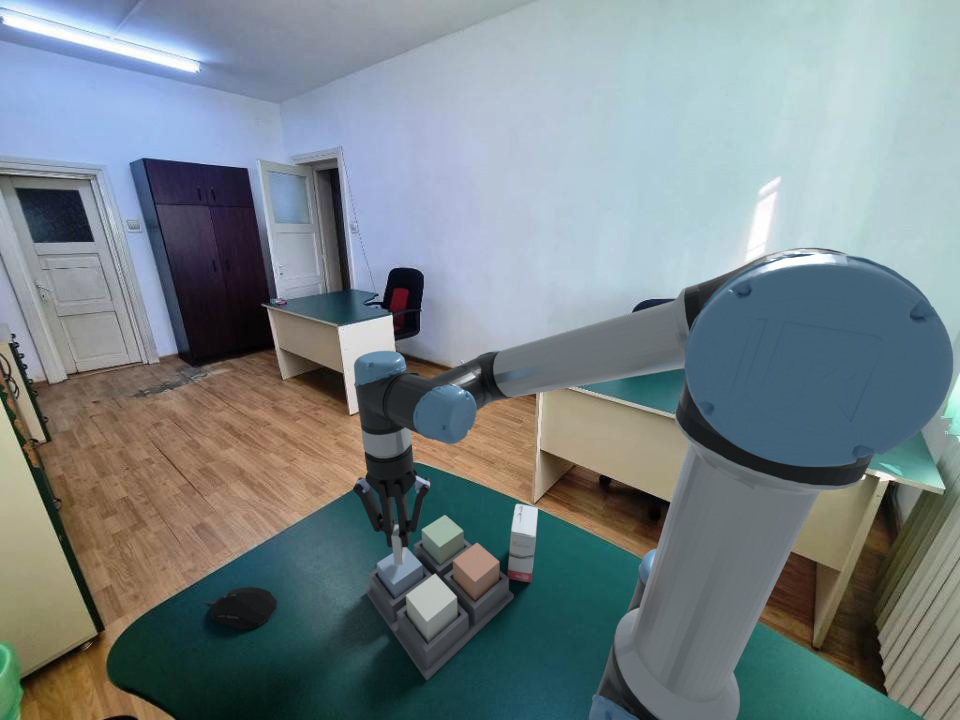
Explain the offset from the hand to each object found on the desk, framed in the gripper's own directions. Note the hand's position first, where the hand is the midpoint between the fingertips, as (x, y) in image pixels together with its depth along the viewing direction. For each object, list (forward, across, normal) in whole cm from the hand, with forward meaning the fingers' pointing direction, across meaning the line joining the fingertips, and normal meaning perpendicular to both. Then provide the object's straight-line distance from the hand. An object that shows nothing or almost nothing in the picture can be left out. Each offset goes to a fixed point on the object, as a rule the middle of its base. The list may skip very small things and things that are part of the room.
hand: (400, 558), depth 68 cm
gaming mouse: (+10, +30, +4) cm, 32 cm away
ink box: (+10, -23, -8) cm, 26 cm away
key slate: (+7, 0, 0) cm, 7 cm away
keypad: (+9, -7, 0) cm, 11 cm away
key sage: (+5, -7, -7) cm, 11 cm away
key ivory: (+6, -7, +7) cm, 11 cm away
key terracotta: (+6, -14, 0) cm, 15 cm away
